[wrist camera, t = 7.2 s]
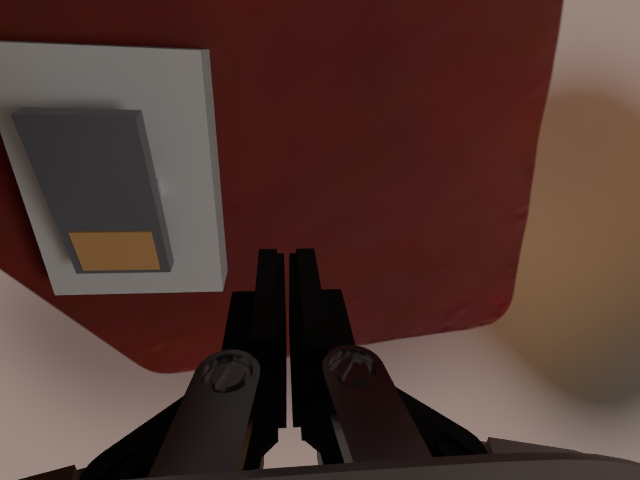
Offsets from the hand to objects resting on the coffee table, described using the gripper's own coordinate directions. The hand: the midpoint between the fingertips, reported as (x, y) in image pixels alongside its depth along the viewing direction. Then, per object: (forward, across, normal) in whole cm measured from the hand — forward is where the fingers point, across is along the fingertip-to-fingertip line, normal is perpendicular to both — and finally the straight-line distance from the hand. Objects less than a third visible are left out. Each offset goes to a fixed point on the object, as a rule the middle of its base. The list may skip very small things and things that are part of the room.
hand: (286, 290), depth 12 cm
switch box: (+27, +14, +5) cm, 31 cm away
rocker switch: (+20, +14, +5) cm, 25 cm away
